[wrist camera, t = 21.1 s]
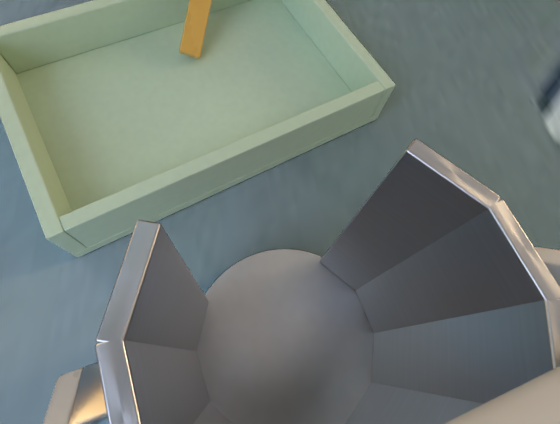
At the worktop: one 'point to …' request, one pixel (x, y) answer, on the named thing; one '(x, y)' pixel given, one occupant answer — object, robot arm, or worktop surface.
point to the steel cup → (339, 316)
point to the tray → (171, 105)
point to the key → (195, 28)
